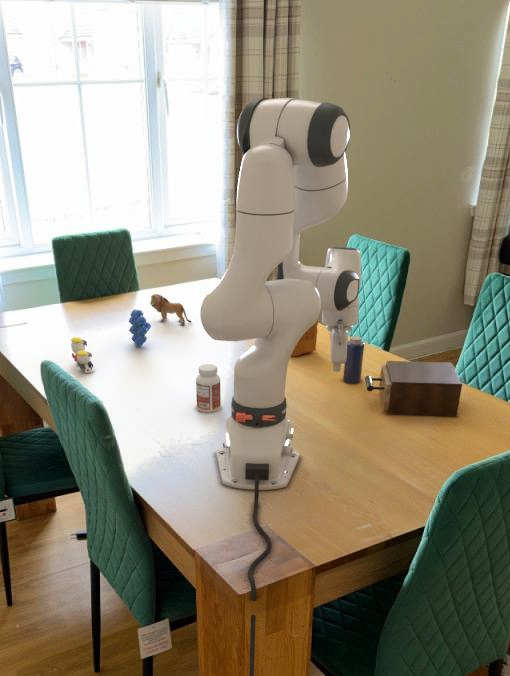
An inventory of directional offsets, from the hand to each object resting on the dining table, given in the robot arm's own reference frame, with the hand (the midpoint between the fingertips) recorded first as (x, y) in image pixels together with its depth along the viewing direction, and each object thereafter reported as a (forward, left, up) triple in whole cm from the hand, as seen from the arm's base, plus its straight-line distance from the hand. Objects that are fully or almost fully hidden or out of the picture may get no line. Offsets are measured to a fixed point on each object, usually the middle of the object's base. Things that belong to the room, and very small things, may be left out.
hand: (336, 370), depth 188 cm
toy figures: (+21, +72, -10) cm, 76 cm away
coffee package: (+41, +10, -10) cm, 43 cm away
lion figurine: (+66, +53, -10) cm, 85 cm away
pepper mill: (+17, -6, -9) cm, 20 cm away
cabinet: (+2, -22, -9) cm, 24 cm away
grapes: (+41, +58, -10) cm, 72 cm away
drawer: (+2, -18, -8) cm, 20 cm away
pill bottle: (-5, +32, -10) cm, 34 cm away
